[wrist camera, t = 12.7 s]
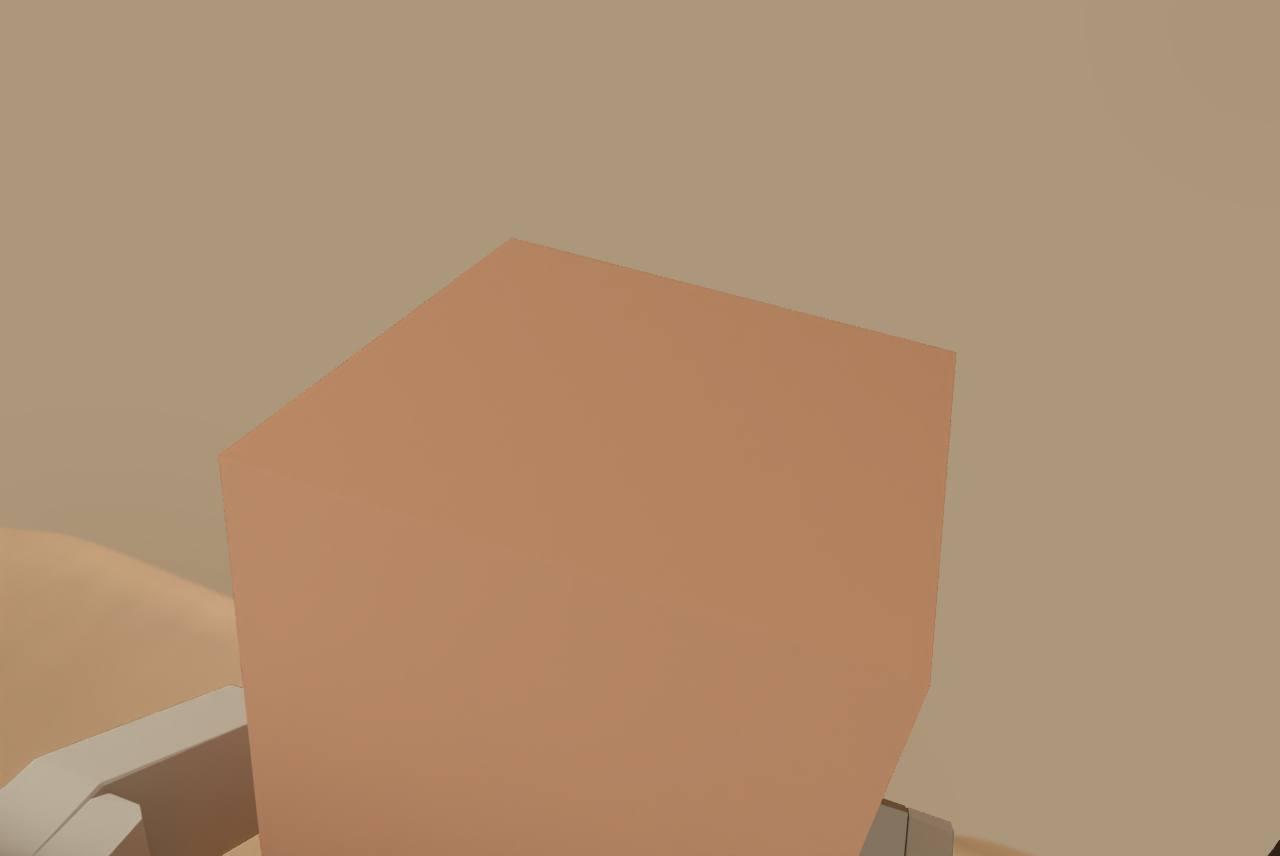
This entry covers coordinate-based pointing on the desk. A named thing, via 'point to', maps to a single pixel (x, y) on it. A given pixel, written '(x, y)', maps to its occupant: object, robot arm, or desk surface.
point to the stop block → (589, 574)
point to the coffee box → (1275, 850)
